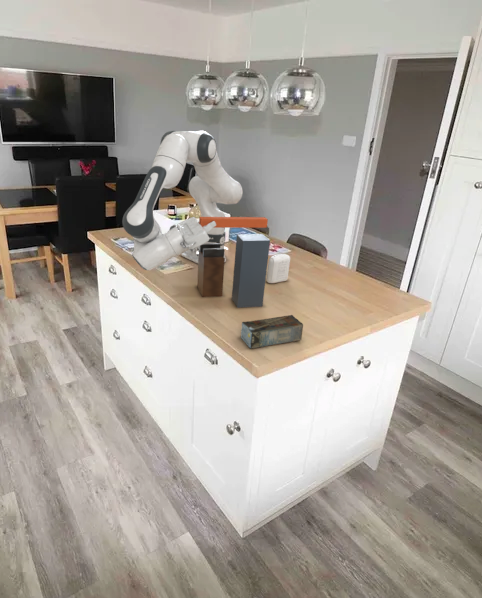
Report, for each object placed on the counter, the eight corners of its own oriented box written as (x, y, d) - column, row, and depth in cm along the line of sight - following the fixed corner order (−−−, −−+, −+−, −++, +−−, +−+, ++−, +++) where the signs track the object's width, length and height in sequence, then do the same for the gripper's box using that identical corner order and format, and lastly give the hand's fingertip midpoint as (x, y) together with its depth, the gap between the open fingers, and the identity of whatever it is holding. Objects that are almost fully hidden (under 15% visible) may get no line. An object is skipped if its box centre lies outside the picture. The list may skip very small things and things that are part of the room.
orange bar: (200, 227, 141) (201, 218, 140) (198, 225, 144) (199, 216, 143) (266, 227, 148) (267, 219, 147) (264, 225, 151) (264, 217, 149)
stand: (237, 307, 156) (243, 240, 145) (231, 298, 163) (236, 234, 152) (262, 306, 159) (270, 240, 148) (255, 297, 165) (262, 234, 155)
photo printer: (282, 277, 188) (286, 251, 182) (288, 280, 184) (292, 254, 179) (264, 281, 182) (267, 254, 177) (270, 284, 179) (274, 257, 174)
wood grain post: (202, 297, 162) (204, 250, 155) (197, 286, 171) (199, 242, 163) (222, 296, 165) (225, 250, 157) (216, 286, 173) (218, 242, 165)
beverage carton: (239, 337, 136) (241, 319, 133) (290, 329, 143) (293, 312, 140) (249, 349, 129) (251, 331, 126) (302, 341, 136) (305, 323, 134)
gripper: (179, 241, 132) (216, 220, 133) (169, 225, 150) (203, 206, 150) (188, 258, 135) (225, 237, 136) (178, 239, 153) (211, 221, 154)
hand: (213, 220), depth 143 cm, fingers closed on orange bar, 3 cm apart
